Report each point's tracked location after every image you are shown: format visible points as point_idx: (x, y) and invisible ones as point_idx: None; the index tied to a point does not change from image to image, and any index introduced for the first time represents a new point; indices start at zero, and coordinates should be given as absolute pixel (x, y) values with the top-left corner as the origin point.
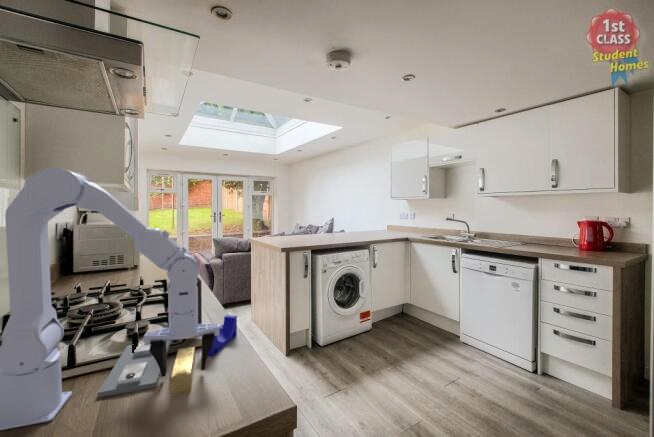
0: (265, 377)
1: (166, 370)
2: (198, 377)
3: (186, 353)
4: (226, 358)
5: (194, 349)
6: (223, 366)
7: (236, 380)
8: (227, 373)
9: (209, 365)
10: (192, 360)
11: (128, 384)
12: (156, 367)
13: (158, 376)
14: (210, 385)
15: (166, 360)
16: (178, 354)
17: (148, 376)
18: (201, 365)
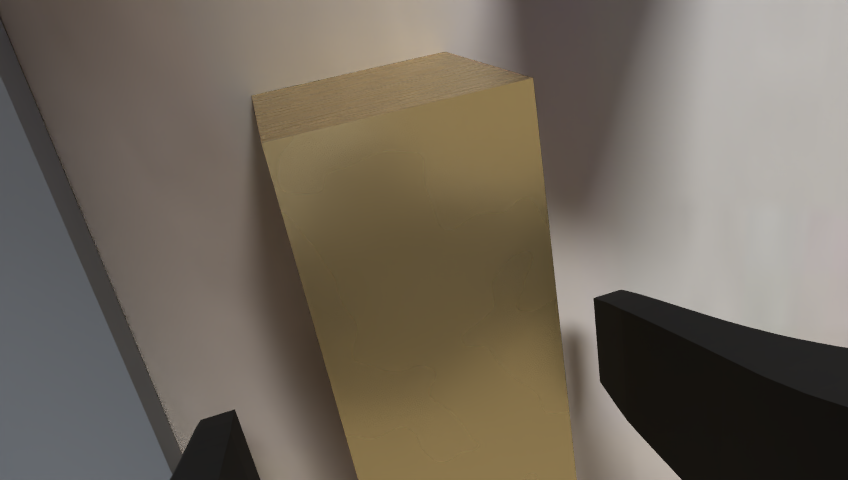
0: None
1: (242, 444)
2: None
3: (454, 301)
4: (778, 14)
5: (531, 136)
6: (743, 182)
7: None
8: (767, 298)
9: (617, 151)
10: (572, 463)
11: None
12: (10, 278)
13: (160, 443)
14: (647, 451)
15: (220, 476)
16: (340, 330)
17: (34, 460)
18: (637, 431)
